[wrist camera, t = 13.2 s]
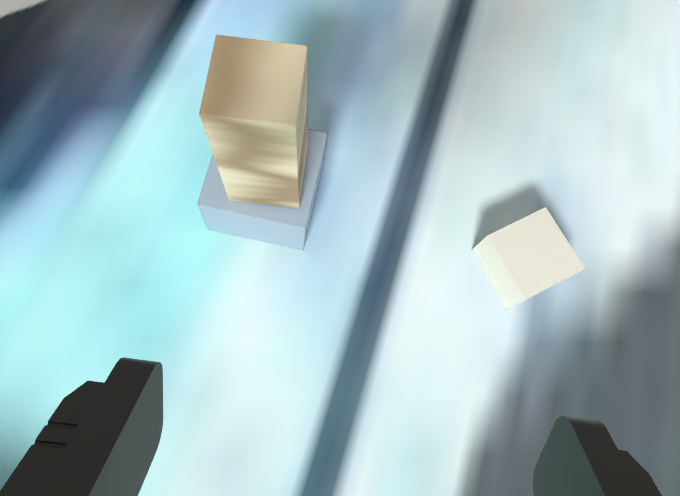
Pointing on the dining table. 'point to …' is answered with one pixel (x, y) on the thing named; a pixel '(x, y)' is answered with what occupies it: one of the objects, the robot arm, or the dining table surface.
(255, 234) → the blue base block
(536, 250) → the cream block
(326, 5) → the dining table surface
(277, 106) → the oak block
